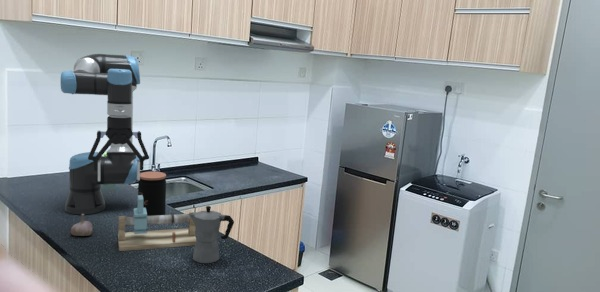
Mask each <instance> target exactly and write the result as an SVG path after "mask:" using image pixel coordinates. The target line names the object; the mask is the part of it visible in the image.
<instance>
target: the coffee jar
mask: <svg viewBox="0 0 600 292" xmlns="http://www.w3.org/2000/svg"><path fill="white" fill-rule="evenodd" d="M166 178H167V174H166V173H165V172H161V171H144V172H140V180H137V182H138V185H137V187H138V188H137V190H138V191H137V196H138V195H143V208H146V211H147V216H156V215H166V202H167V201H166V199H167V196H166V195H167V180H166Z"/></svg>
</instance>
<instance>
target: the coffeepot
mask: <svg viewBox="0 0 600 292" xmlns="http://www.w3.org/2000/svg"><path fill="white" fill-rule="evenodd" d="M205 208H206V209H205V210H200V211H194V212H193V211H192V212H193V213H192V212H189V213H190V214H189V213H188V214H189V216H190V217H191V218H192V220H193V222H194V224H195V236H196V243H195V245H194V249H193V253H192V260H193V261H194V262H196V263H200V264H211V263H214V262H215V263H216V262H218V261H219V259H220V258H221V257H220V249H219V243H218V242H219V241H218V236H219V234H220V233H219V232H220V227H221V223H222V222H228V224H227V226H226V230H225V232H224V235H221V236H220V238H221V239H222V240H227V239H228V238H229V236H230V233H231V231H232V228H233V227H234V223H235V221H234V219H233V218H232V216H231V215H226V214H222V213H221V212H218V211H215V210H211V208H212V207H211V206H210V205H206V207H205Z"/></svg>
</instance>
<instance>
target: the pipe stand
mask: <svg viewBox="0 0 600 292" xmlns="http://www.w3.org/2000/svg"><path fill="white" fill-rule="evenodd" d="M190 213H193V211H192V212H189V213H181V214H180V213H178V214H174V213H172V214H171V213H170V214H165V215H156V216H147V226H148V225H162V224H166V225H167V224H178V223H179V224H181V223H188V228H173V229H172V228H171V229H161V230H160V229H158V230H157V229H156V230H147V233H145V234H134V231H129V232H128V231H127V232H126V227H129V226H134V216H125V215H119V216H118V233H117V234H118V235H117V238H118V242H117V243H118V252H127V251H139V250H140V251H141V250H150V249H152V250H155V249H165V248H166V249H168V248H177V247H178V248H179V247H191V246H193V247H194V246H195V243H196V239H197V236H196V226H195V224H194V222H193V220H192V218H191V217H190V216H189V214H190Z"/></svg>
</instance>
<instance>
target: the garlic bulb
mask: <svg viewBox="0 0 600 292" xmlns="http://www.w3.org/2000/svg"><path fill="white" fill-rule="evenodd" d="M85 215H86V214H80V221H79V222H78V223H75V224H73V225H72V226H71V228H70V234H71V235H73V236H76V237H78V236H81V237H85V236H86V237H88V236H90V237H91V235H93V231H94V230H93V227H94V226H93V224H92V222H90V221H88V220H85Z"/></svg>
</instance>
